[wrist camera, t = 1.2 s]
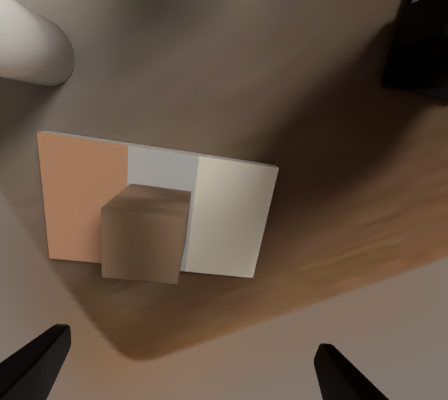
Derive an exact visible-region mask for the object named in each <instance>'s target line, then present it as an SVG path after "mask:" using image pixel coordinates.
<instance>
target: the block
mask: <svg viewBox="0 0 448 400" xmlns="http://www.w3.org/2000/svg"><path fill="white" fill-rule="evenodd" d="M191 192H192V191H184V190H176V189H169V188H161V187H154V186H146V185H139V184H130V185H128V186H127V187H126V188H125V189H123V190H122V191H121V192H120V193H119V194H117V195H116V196H115V197H114V198H112V199H111V200H110V201H109V202H108V203H106V204H105V205H104V206H103V207H102V208H101V254H102V277H104V278H115V279H126V280H137V281H148V282H159V283H170V284H177V283H178V278H179V273H180V268H181V263H182V258H183V253H184V248H185V243H186V235H187V226H188V218H189V209H190V201H191Z"/></svg>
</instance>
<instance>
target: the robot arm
mask: <svg viewBox="0 0 448 400" xmlns="http://www.w3.org/2000/svg"><path fill="white" fill-rule="evenodd" d="M389 77H391V79H392V80H391V82H390V83H389ZM381 83H382V86H383V87H385V88H389V89H394V90H399V91H405V92H410V93H415V94H420V95H425V96H430V97H435V98H440V99H445V100H448V0H408V3H407V6H406V8H405V9H404V11H403V14H402V17H401V20H400V23H399V26H398V29H397V32H396V35H395V38H394V41H393V44H392V47H391V53H390V56H389V59H388V62H387V65H386V68H385V71H384V74H383V77H382V80H381ZM70 346H71V332H70V326H69V325H66V324H56V325H54V326H52V327H51V328H49V329H48V330H46V331H45V332H44V333H42V334H41V335H39V336H38V337H37V338H35V339H34V340H32V341H31V342H30V343H28V344H27V345H25V346H24V347H22V348H21V349H19V350H18V351H17V352H15V353H14V354H12V355H11V356H9V357H8V358H7V359H5V360H4V361H2V362H1V363H0V400H46V399H47V397H48V395H49V393H50V391H51V388H52V386H53V384H54V382H55V380H56V378H57V375H58V373H59V371H60V369H61V367H62V364H63V362H64V360H65V358H66V356H67V354H68V352H69V349H70ZM314 366H315V370H316V374H317V378H318V382H319V386H320V390H321V394H322V398H323V400H389V399H388V398H387V397H386V396H385V395H384V394H383V393H381V391H379V390H378V389H377V388H376V387H375V386H374V385H373V384H372V383H371V382H370V381H369V380H368V379H367V378H366V377H365V376H364V375H363V374H362V373H361V372H360V371H359V370H358V369H357V368H356V367H355V366H354V365H353V364H352V363H351V362H350V361H349V360H348V359H347V358H345V357H344V356H343V355H342V354H341V353H340V352H339V351H338V350H337V349H336V348H335V347H334V346H333V345H331V344H323V343H322V344H320V345H319V348H318V350H317V352H316V355H315V358H314Z"/></svg>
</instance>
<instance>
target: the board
mask: <svg viewBox="0 0 448 400" xmlns="http://www.w3.org/2000/svg"><path fill="white" fill-rule="evenodd" d="M37 139H38V149H39V159H40V169H41V178H42V188H43V198H44V208H45V218H46V228H47V238H48V248H49V258H53V259H63V260H73V261H84V262H94V263H102V254H101V208H102V207H103V206H104V205H105V204H106V203H108V202H109V201H110V200H111V199H112V198H114V197H115V196H116V195H117V194H119V193H120V192H121V191H122V190H123V189H125V188H126V187H127V186H128V185H130V184H139V185H146V186H154V187H161V188H169V189H176V190H184V191H192V192H191V201H190V209H189V218H188V226H187V235H186V243H185V248H184V253H183V258H182V263H181V268H180V271H187V272H197V273H207V274H218V275H228V276H238V277H248V278H253V275H254V271H255V267H256V263H257V258H258V254H259V250H260V246H261V241H262V237H263V233H264V229H265V225H266V220H267V216H268V212H269V208H270V204H271V199H272V195H273V191H274V187H275V182H276V178H277V174H278V170H279V168H278V167H277V166H276V165H273V164H266V163H260V162H253V161H246V160H240V159H233V158H226V157H220V156H213V155H206V154H200V153H193V152H186V151H180V150H173V149H166V148H160V147H153V146H146V145H140V144H133V143H126V142H120V141H113V140H107V139H100V138H93V137H87V136H80V135H73V134H67V133H60V132H53V131H41V132H37Z"/></svg>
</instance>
